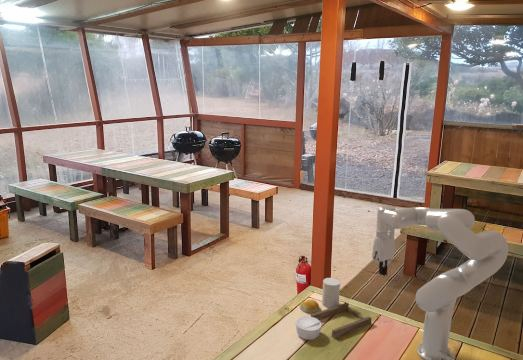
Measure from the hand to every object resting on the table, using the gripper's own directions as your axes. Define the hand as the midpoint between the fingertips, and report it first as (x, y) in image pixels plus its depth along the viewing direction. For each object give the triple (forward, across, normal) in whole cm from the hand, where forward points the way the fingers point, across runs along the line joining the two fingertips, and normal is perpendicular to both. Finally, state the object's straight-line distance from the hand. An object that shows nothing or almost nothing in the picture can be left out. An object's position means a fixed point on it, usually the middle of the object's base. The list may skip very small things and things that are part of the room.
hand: (382, 274), depth 187 cm
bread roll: (+24, +18, -28) cm, 41 cm away
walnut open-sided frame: (+24, +14, -11) cm, 30 cm away
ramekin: (+24, +32, -12) cm, 42 cm away
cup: (+24, +6, -26) cm, 35 cm away
